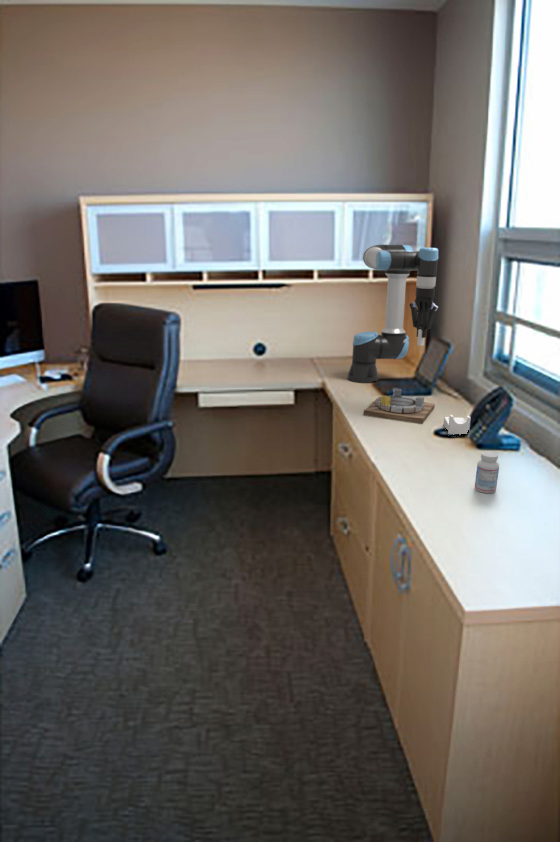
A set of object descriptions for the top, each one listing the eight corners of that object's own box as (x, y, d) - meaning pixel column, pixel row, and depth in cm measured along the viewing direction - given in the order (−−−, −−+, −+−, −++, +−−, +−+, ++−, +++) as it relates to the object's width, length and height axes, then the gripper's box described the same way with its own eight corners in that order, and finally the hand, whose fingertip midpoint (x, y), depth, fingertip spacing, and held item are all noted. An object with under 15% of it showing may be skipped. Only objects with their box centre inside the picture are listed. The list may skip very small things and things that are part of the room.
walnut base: (379, 400, 277) (380, 391, 275) (434, 408, 268) (435, 397, 266) (363, 415, 256) (364, 404, 254) (422, 423, 247) (423, 412, 245)
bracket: (468, 437, 233) (470, 417, 230) (448, 436, 233) (450, 416, 231) (462, 426, 245) (464, 407, 243) (443, 425, 246) (445, 406, 243)
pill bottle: (479, 483, 190) (483, 448, 187) (499, 489, 187) (503, 453, 183) (470, 490, 186) (475, 454, 182) (491, 495, 182) (495, 459, 179)
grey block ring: (386, 413, 250) (386, 401, 249) (370, 400, 268) (371, 389, 267) (431, 412, 254) (432, 400, 252) (413, 399, 271) (414, 388, 270)
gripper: (444, 288, 253) (439, 346, 260) (417, 285, 262) (412, 341, 269) (434, 289, 248) (428, 348, 255) (406, 286, 257) (402, 343, 264)
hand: (420, 345), depth 262 cm, fingers closed
